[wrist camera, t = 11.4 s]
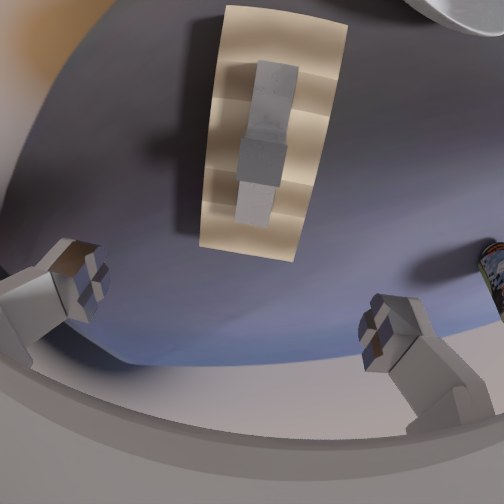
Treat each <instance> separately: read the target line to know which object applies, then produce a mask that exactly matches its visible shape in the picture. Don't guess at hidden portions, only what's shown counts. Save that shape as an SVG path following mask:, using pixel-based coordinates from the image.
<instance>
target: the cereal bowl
mask: <svg viewBox="0 0 504 504" xmlns="http://www.w3.org/2000/svg"><path fill="white" fill-rule="evenodd" d="M404 1H405V2H406V3H407V4H409V5H410V6H411V7H413V8H414V9H415V10H416V11H418V12H419V13H421V14H423V15H424V16H426V17H427V18H429V19H431V20H433V21H435V22H437V23H439V24H440V25H443V26H445V27H448V28H450V29H452V30H455V31H459V32H463V33H466V34H471V35H478V36H500V35H503V34H504V0H404Z"/></svg>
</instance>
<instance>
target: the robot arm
mask: <svg viewBox="0 0 504 504" xmlns="http://www.w3.org/2000/svg"><path fill="white" fill-rule="evenodd" d="M106 258H107V255H106V251H105V248H104V247H102V246H100V245H96V244H91V243H87V242H83V241H78V240H73V239H69V238H62V239H60V240H59V241H58V243H57V244H56V245H55V246H54V247H53V248H52V249H51V250H50V251H49V252H48V253H47V254H46V255H45V256H44V257H43V258H42V260H41V261H40V262H39V263H38V264H37V265H36V266H35V267H32V266H31V267H29V268H27V269H25V270H22V271H20V272H18V273H16V274H14V275H12V276H10V277H8V278H6V279H4V280H2V281H0V504H504V413H502V414H499V415H495V412H494V409H493V406H492V402H491V399H490V396H489V393H488V390H487V387H486V384H485V382H484V381H483V380H482V379H481V378H480V377H479V376H478V375H477V374H476V372H475V371H474V370H473V369H472V368H471V367H470V366H469V365H468V364H467V363H466V362H465V361H464V360H462V358H461V357H460V356H459V355H458V354H456V352H455V351H454V350H453V349H452V348H451V347H450V346H448V345H447V344H446V342H445V341H444V340H442V339H441V338H440V337H436V335H435V332H434V330H433V327H432V325H431V323H430V320H429V318H428V315H427V313H426V311H425V309H424V306H423V304H422V302H421V300H419V299H418V298H413V297H401V296H393V295H386V294H379V293H377V294H376V295H375V296H373V298H372V300H371V302H370V305H371V309H370V310H368V311H367V312H365V313H364V314H363V316H362V318H361V320H360V324H359V328H358V337H359V342H360V343H361V344H362V346H363V347H364V348H365V349H364V351H363V353H362V358H363V363H364V369H365V372H380V373H381V372H382V373H389V376H390V377H391V379H392V380H393V382H394V383H395V385H396V386H397V387H398V389H399V390H400V391H401V393H402V395H403V396H404V397H405V399H406V400H407V402H408V403H409V405H410V406H411V408H412V409H413V411H414V412H415V413H416V415H417V416H418V418H417V419H415V420H414V421H413V422H411V423H410V424H409V425H408V426H407V427H406V432H407V435H400V436H391V437H381V438H367V439H350V440H349V439H348V440H309V439H307V440H306V439H288V438H274V437H263V436H254V435H245V434H238V433H231V432H224V431H218V430H212V429H206V428H202V427H196V426H191V425H187V424H182V423H178V422H174V421H170V420H166V419H162V418H158V417H154V416H151V415H147V414H143V413H140V412H136V411H133V410H130V409H127V408H124V407H121V406H118V405H115V404H112V403H109V402H106V401H103V400H101V399H98V398H95V397H93V396H90V395H88V394H85V393H83V392H80V391H78V390H75V389H73V388H71V387H68V386H66V385H64V384H62V383H59V382H57V381H55V380H53V379H51V378H49V377H46V376H44V375H42V374H40V373H38V372H36V371H34V370H32V369H31V366H32V364H33V359H32V358H31V356H30V354H29V353H28V352H27V350H26V348H27V347H29V346H30V345H31V344H33V343H34V342H35V341H37V340H38V339H39V338H41V337H42V336H44V335H45V334H46V333H48V332H49V331H50V330H52V329H53V328H55V327H56V326H57V325H59V324H60V323H61V322H63V321H64V320H66V319H67V317H69V318H72V319H75V320H79V321H82V322H86V323H89V322H90V321H91V319H92V317H93V316H94V314H95V312H96V311H97V309H98V305H97V302H98V301H99V300H101V299H103V298H104V297H105V295H106V294H107V292H108V289H109V286H110V271H109V268H108V267H107V266H106V264H105V263H104V262H105V260H106Z"/></svg>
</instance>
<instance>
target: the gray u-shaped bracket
mask: <svg viewBox="0 0 504 504" xmlns="http://www.w3.org/2000/svg"><path fill="white" fill-rule="evenodd" d="M298 69H299V67H298V66H293V65H287V64H282V63H276V62H270V61H263V60H258V64H257V70H256V76H255V83H254V89H253V95H252V101H251V108H250V114H249V121H248V127H247V129H246V131H245V132H244V134H243V136H242V137H241V144H240V151H239V158H238V166H237V173H236V180H238V181H240V183H239V190H238V198H237V205H236V212H235V220H234V222H237V223H243V224H249V225H255V226H261V227H266V228H268V224H269V219H270V214H271V209H272V204H273V199H274V194H275V189H276V187H279V188H280V183H281V178H282V173H283V168H284V163H285V158H286V153H287V148H288V142H287V135H286V133H287V128H288V122H289V117H290V112H291V106H292V101H293V96H294V90H295V85H296V80H297V74H298Z"/></svg>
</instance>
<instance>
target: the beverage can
mask: <svg viewBox="0 0 504 504" xmlns="http://www.w3.org/2000/svg"><path fill="white" fill-rule="evenodd" d="M478 268H479V270H480V272H481V274H482V276H483V278H484V280H485V282H486V285H487V287H488V289H489V291H490V293H491V296H492V298H493V300H494V303H495V305H496V307H497V310H498V312H499V315H500V317H501V320H502V322H503V323H504V242H499V243H494V244H492V245H490V246H489V247H487V248H486V249H485V250H484V252H483V253H482V255H481V257H480V260H479V263H478Z"/></svg>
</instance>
